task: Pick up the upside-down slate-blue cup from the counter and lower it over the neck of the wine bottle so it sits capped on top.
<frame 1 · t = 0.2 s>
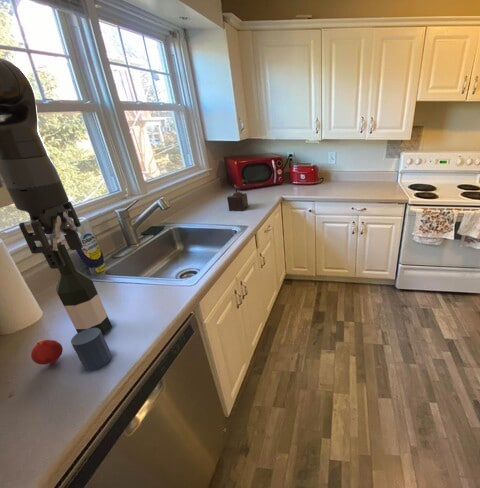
hand: (68, 257, 59), 33 cm above the countertop, tool pointing down, fingers open, 8 cm apart
wine bottle: (96, 331, 86), on the countertop
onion: (53, 362, 75), on the countertop
cup: (98, 361, 75), on the countertop
manual coffee grinder: (240, 207, 194), on the countertop
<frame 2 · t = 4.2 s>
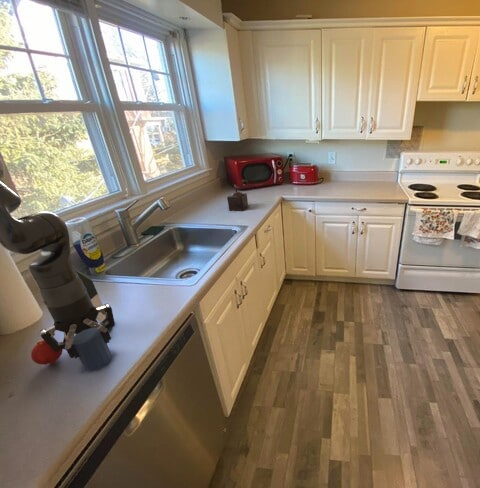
hand: (92, 348, 73), 5 cm above the countertop, tool pointing down, fingers closed on cup, 6 cm apart
cup: (98, 361, 75), on the countertop, touching gripper
everything else where it was.
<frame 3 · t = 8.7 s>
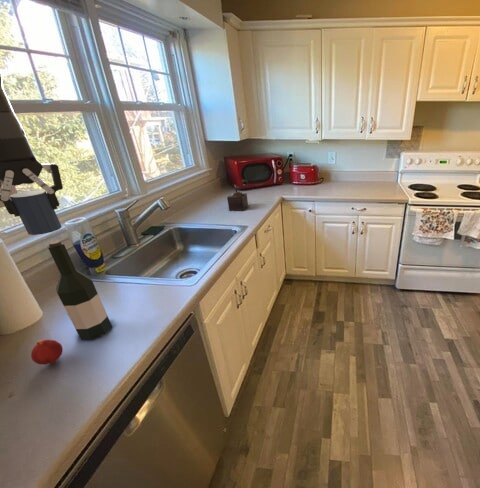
hand: (36, 211, 66), 39 cm above the countertop, tool pointing down, fingers closed on cup, 6 cm apart
cup: (45, 229, 68), point 35 cm above the countertop, touching gripper
everything else where it was.
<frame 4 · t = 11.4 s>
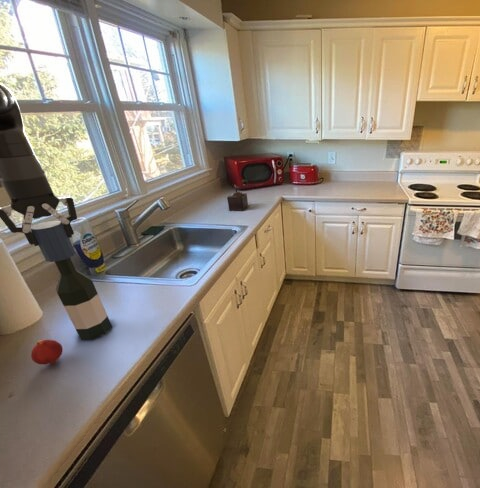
hand: (53, 240, 72), 30 cm above the countertop, tool pointing down, fingers closed on cup, 6 cm apart
cup: (61, 256, 74), point 26 cm above the countertop, touching gripper
everything else where it was.
when the fingers open (26 cm above the countertop, at t = 13.3 s): cup stays where it is, resting on wine bottle.
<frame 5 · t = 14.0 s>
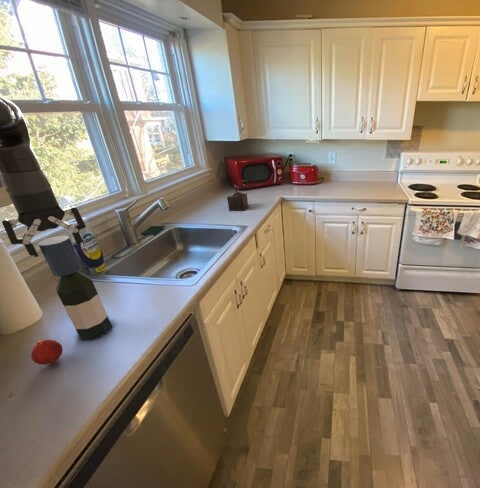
hand: (58, 250, 74), 28 cm above the countertop, tool pointing down, fingers open, 8 cm apart
wine bottle: (96, 331, 86), on the countertop, touching cup
cup: (67, 270, 76), point 22 cm above the countertop, touching wine bottle
everything else where it was.
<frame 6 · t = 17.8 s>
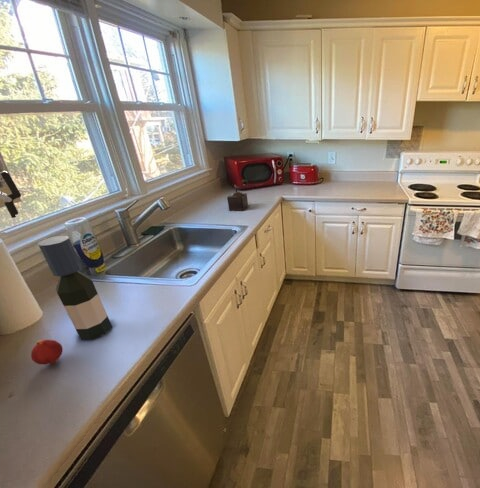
nothing on the countertop moved.
at the end: cup 0.0 cm off-centre in the wine bottle, point 21.7 cm above the wine bottle's base; wine bottle tilted 0°; the gripper is holding nothing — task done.
